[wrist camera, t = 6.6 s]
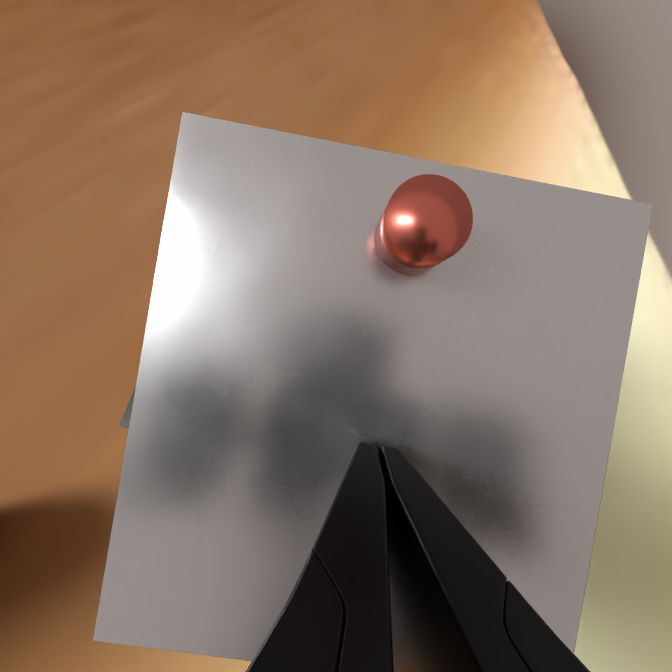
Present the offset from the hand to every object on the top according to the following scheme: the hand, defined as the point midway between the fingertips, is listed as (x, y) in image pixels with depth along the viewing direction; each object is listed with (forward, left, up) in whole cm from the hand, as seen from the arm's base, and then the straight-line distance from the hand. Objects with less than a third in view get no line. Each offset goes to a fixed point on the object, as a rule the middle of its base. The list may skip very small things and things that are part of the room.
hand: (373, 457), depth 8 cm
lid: (+1, -1, -1) cm, 2 cm away
